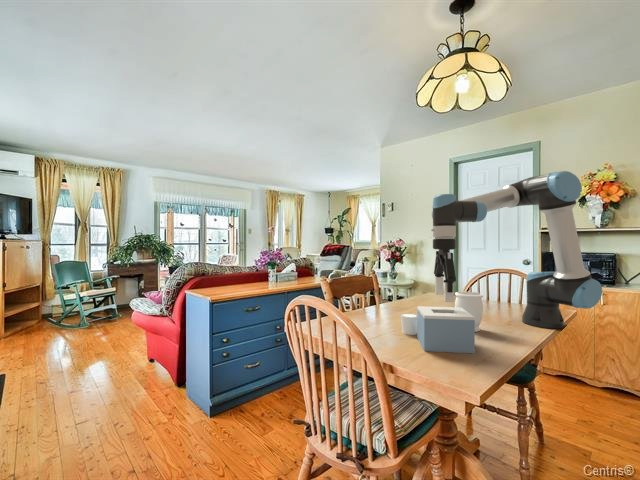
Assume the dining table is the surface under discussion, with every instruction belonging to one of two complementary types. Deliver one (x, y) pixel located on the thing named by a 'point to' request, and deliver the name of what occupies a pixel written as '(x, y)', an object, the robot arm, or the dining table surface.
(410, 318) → the white cylinder
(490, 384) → the dining table surface
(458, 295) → the jar
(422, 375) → the dining table surface
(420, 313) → the box
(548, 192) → the robot arm
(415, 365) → the dining table surface
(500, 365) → the dining table surface
